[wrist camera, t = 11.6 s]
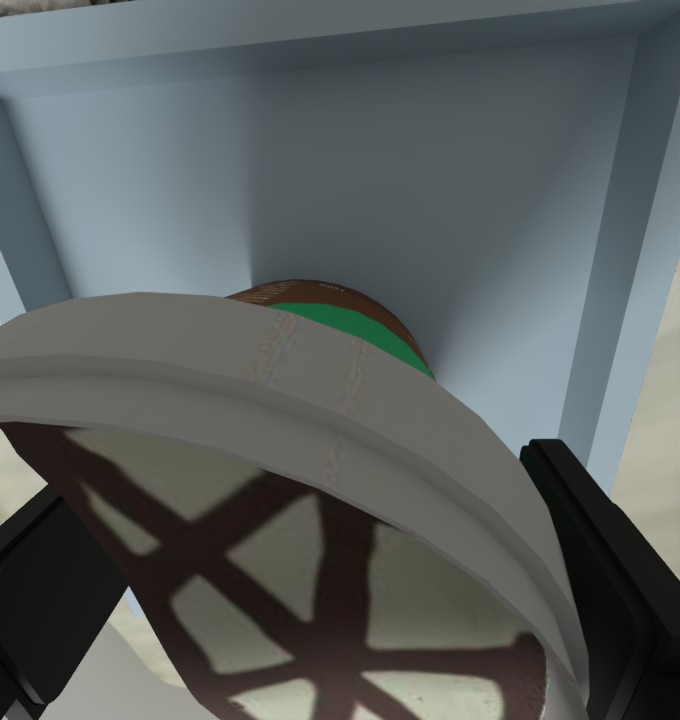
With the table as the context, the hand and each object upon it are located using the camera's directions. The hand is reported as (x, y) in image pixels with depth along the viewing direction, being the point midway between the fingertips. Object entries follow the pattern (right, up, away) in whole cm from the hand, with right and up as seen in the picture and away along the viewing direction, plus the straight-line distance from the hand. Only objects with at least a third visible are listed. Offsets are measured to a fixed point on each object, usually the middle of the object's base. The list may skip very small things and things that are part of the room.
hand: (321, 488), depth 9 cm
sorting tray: (0, +2, +6) cm, 7 cm away
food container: (+2, +3, +5) cm, 6 cm away
